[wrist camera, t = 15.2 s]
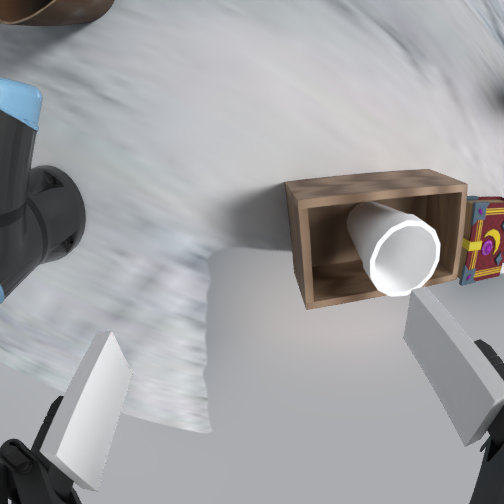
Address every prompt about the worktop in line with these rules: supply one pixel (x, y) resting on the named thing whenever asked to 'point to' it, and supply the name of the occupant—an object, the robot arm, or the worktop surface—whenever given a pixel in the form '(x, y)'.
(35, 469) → the robot arm
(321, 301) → the open wooden box
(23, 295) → the worktop surface
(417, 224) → the foam cup
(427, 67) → the worktop surface
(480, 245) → the decorative book
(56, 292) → the worktop surface
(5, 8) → the plant pot
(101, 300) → the worktop surface
